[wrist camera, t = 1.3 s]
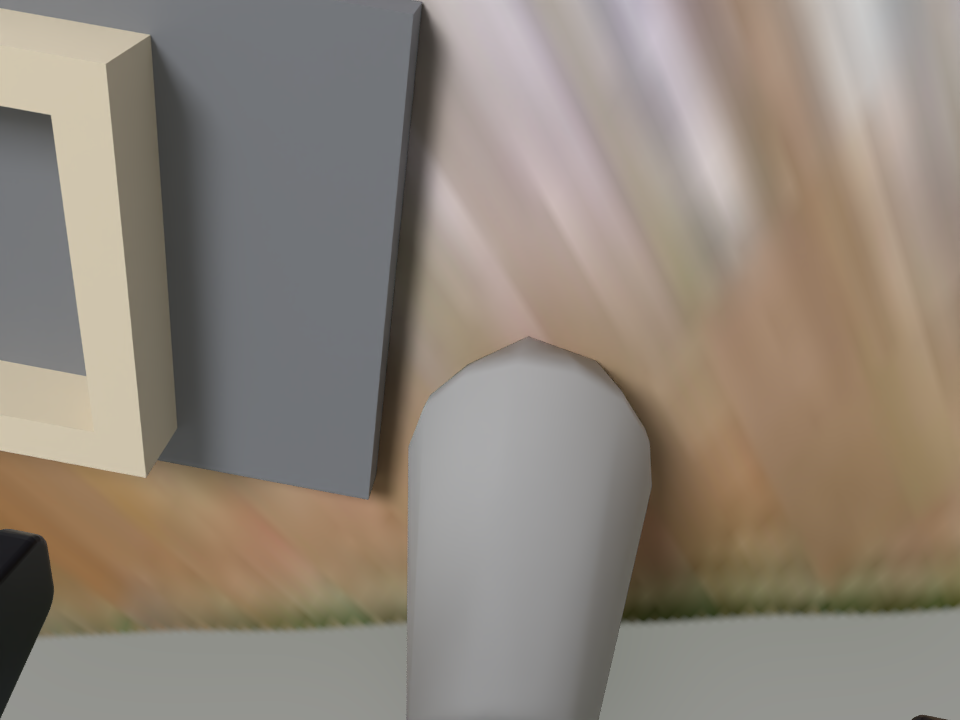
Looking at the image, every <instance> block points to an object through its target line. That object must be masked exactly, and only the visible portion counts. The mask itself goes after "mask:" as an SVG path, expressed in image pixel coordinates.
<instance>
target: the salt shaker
mask: <svg viewBox="0 0 960 720" xmlns="http://www.w3.org/2000/svg"><path fill="white" fill-rule="evenodd" d="M651 488H652V478H651V458H650V442H649V439H648V436H647V433H646V430H645V428H644V426H643V425H642V423H641V421H640V420H639V418H638V417H637V415H636V413H635V412H634V410H633V409H632V407H631V405H630V404H629V402H628V401H627V399H626V397H625V396H624V394H623V393H622V391H621V390H620V388H619V387H618V386H617V385H616V384H615V383H614V381H613V380H612V379H611V378H610V377H609V375H608V374H607V373H606V372H605V371H604V370H603V368H602V367H601V366H600V365H599V364H598V362H597V361H595V360H593V359H590V358H587V357H584V356H581V355H579V354H576V353H573V352H570V351H567V350H565V349H562V348H559V347H556V346H553V345H551V344H548V343H545V342H542V341H539V340H537V339H534V338H531V337H526V338H524V339H522V340H520V341H517V342H515V343H513V344H511V345H509V346H507V347H504V348H502V349H500V350H498V351H496V352H494V353H491V354H489V355H487V356H485V357H483V358H481V359H478V360H476V361H474V362H472V363H470V364H468V365H466V366H465V367H464V368H463V369H462V370H460V371H459V372H458V373H457V374H455V375H454V376H453V377H452V378H451V379H449V380H448V381H447V382H446V383H444V384H443V385H442V386H441V387H440V388H438V389H437V390H436V391H435V392H433V393H432V394H431V395H430V397H429V399H428V400H427V402H426V404H425V406H424V408H423V411H422V414H421V416H420V419H419V421H418V424H417V426H416V429H415V432H414V434H413V437H412V439H411V442H410V444H409V456H408V587H407V717H406V718H407V720H598V719H599V715H600V711H601V706H602V702H603V697H604V693H605V689H606V684H607V680H608V676H609V671H610V667H611V663H612V658H613V654H614V649H615V645H616V641H617V636H618V632H619V628H620V623H621V619H622V615H623V610H624V606H625V601H626V597H627V593H628V588H629V584H630V580H631V575H632V571H633V567H634V562H635V558H636V553H637V549H638V545H639V540H640V536H641V532H642V527H643V523H644V519H645V514H646V510H647V505H648V501H649V497H650V492H651Z"/></svg>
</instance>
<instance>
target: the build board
mask: <svg viewBox="0 0 960 720" xmlns="http://www.w3.org/2000/svg"><path fill="white" fill-rule="evenodd" d="M421 10H422V2H419V1H414V0H0V450H1V451H6V452H12V453H17V454H22V455H27V456H33V457H38V458H43V459H49V460H54V461H59V462H65V463H70V464H75V465H81V466H86V467H91V468H97V469H102V470H107V471H113V472H118V473H123V474H128V475H134V476H139V477H144V478H146V477H147V475H148V474H149V472H150V471H151V469H152V467H153V466H154V464H155V463H156V461H157V460H160V461H165V462H171V463H176V464H181V465H186V466H192V467H197V468H202V469H208V470H213V471H218V472H224V473H229V474H234V475H240V476H245V477H250V478H256V479H261V480H266V481H272V482H277V483H282V484H288V485H293V486H298V487H304V488H309V489H314V490H320V491H325V492H330V493H336V494H341V495H346V496H352V497H357V498H362V499H369V496H370V493H371V490H372V487H373V484H374V480H375V477H376V471H377V461H378V451H379V440H380V430H381V420H382V410H383V399H384V389H385V379H386V369H387V358H388V348H389V338H390V328H391V317H392V307H393V297H394V287H395V276H396V266H397V256H398V246H399V236H400V225H401V215H402V205H403V195H404V184H405V174H406V164H407V154H408V143H409V133H410V123H411V113H412V102H413V92H414V82H415V72H416V61H417V51H418V41H419V31H420V20H421Z"/></svg>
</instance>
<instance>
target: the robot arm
mask: <svg viewBox="0 0 960 720" xmlns="http://www.w3.org/2000/svg"><path fill="white" fill-rule="evenodd" d="M53 594H54V585H53V579H52V573H51V566H50V560H49V553H48V547H47V543H46V541H45V540H44V538H43V537H42V536H40V535H37V534H33V533H28V532H23V531H18V530H13V529H3V530H0V718H1V716H2V714H3V712H4V709H5V707H6V705H7V703H8V701H9V698H10V696H11V694H12V692H13V690H14V687H15V685H16V683H17V681H18V679H19V676H20V674H21V672H22V670H23V667H24V665H25V663H26V661H27V659H28V657H29V654H30V652H31V650H32V648H33V646H34V643H35V641H36V639H37V637H38V635H39V633H40V630H41V628H42V626H43V624H44V622H45V619H46V617H47V615H48V613H49V610H50V607H51V604H52V600H53ZM912 720H946V719H941V718H937V717H932V716H927V715H919V716H917V717H914V718H913V719H912Z"/></svg>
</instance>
